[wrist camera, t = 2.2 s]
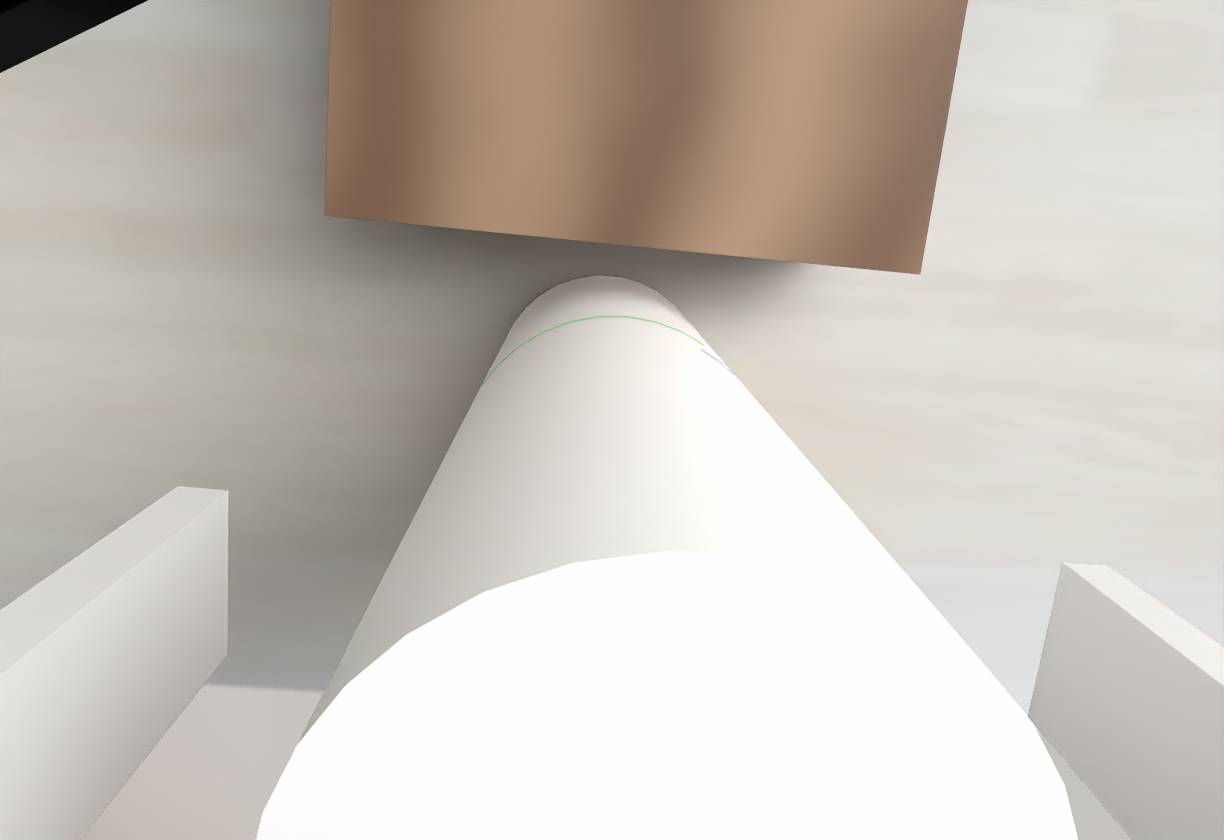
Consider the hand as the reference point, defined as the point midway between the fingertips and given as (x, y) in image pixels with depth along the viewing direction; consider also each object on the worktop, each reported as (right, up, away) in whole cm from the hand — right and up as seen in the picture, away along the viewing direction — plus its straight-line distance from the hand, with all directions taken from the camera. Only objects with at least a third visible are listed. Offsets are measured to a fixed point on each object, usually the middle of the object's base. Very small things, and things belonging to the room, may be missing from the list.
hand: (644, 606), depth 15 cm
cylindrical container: (-1, +4, +18) cm, 18 cm away
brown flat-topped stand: (0, +15, +15) cm, 21 cm away
